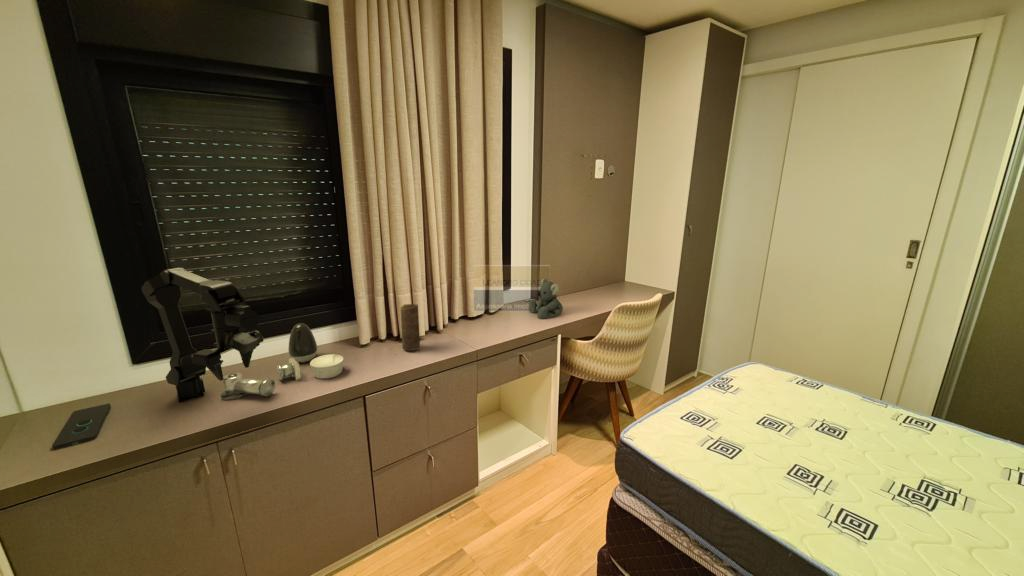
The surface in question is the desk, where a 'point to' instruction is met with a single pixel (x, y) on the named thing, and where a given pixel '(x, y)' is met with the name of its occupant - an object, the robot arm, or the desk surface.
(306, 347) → the black egg-shaped dome
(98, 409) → the smart home device
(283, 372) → the metal pipe fitting
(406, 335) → the candle
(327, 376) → the ramekin
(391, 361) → the desk surface
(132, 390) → the desk surface
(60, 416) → the desk surface
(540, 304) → the koala plush
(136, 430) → the desk surface
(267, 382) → the elbow
